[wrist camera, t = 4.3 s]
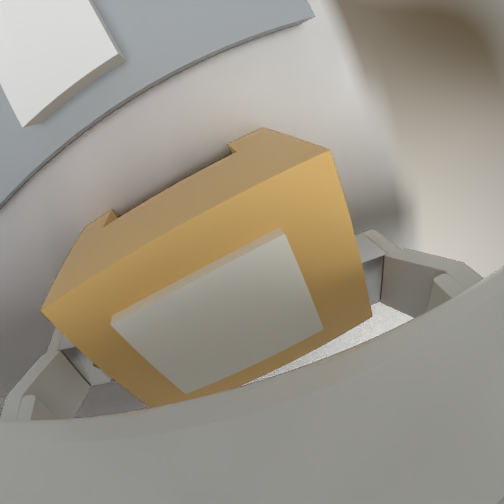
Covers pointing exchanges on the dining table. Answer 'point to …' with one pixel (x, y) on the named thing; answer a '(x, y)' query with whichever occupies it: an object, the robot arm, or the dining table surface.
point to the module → (216, 274)
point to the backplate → (105, 62)
